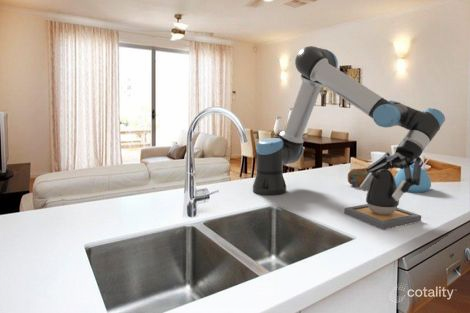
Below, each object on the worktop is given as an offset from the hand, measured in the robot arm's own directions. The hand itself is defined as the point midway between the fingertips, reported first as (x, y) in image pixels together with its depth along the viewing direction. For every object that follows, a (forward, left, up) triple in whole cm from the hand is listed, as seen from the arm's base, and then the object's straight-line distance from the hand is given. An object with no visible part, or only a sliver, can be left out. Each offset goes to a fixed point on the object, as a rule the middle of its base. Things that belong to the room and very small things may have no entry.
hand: (377, 193), depth 109 cm
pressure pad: (0, +2, -8) cm, 8 cm away
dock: (0, +2, -9) cm, 9 cm away
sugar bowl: (-22, +45, -9) cm, 51 cm away
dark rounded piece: (0, +2, -7) cm, 8 cm away
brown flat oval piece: (-37, +30, -9) cm, 49 cm away
